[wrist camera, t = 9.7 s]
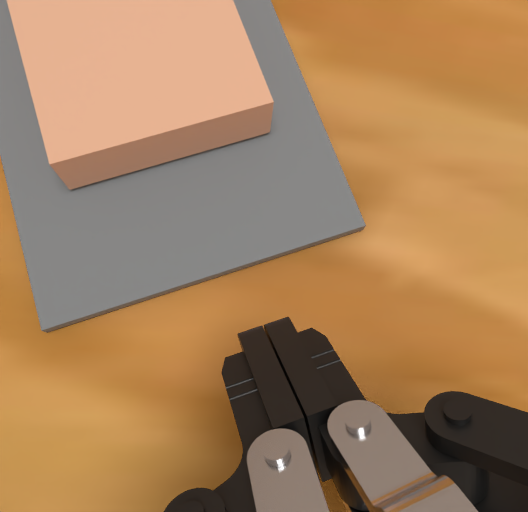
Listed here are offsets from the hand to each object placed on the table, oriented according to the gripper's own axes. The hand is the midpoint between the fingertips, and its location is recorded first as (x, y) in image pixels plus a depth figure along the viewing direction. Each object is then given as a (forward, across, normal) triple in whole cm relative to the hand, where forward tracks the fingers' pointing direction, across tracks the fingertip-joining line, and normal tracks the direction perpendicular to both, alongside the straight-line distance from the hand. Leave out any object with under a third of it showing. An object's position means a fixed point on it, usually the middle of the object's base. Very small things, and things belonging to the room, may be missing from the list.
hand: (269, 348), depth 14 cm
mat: (+14, -1, +5) cm, 15 cm away
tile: (+10, -1, +4) cm, 11 cm away
